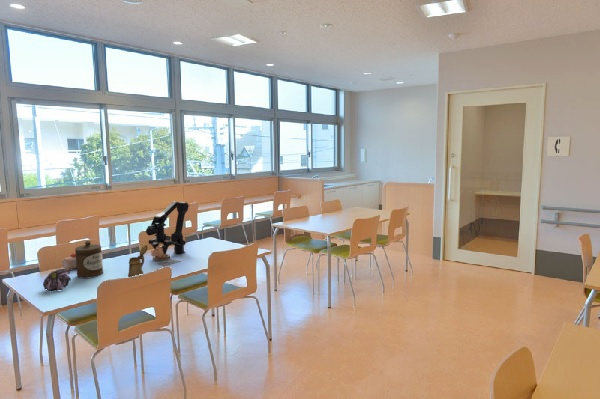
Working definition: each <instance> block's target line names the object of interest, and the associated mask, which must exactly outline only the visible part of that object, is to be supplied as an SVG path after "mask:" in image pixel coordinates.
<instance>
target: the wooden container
mask: <svg viewBox="0 0 600 399" xmlns="http://www.w3.org/2000/svg"><path fill="white" fill-rule="evenodd" d="M75 254H76V268H77V269H76V276H78V277H77V278H79V277H83V278H82V279H85V278H84V277H91V278H95V277H94V276H96V277H99V276H101V275H103V273H104V268H103V265H104V264H103V256H102V245H101V244H94V243H92V244H91V241H90V240H86V241H85V242H84V245H80V246H77V247H75ZM98 275H99V276H98Z"/></svg>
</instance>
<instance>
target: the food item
mask: <svg viewBox="0 0 600 399" xmlns="http://www.w3.org/2000/svg"><path fill="white" fill-rule="evenodd" d="M61 262H62V267H63V269H66V270H69V271H72V270H71V269H73V270H77V269H76V253H72V254H70V256H68V257H64V258H63V259H62V261H61Z"/></svg>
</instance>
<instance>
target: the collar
mask: <svg viewBox="0 0 600 399" xmlns="http://www.w3.org/2000/svg"><path fill="white" fill-rule="evenodd" d="M168 260H171V255H170V254H168V253H166V257H164V258H157V256H152V261H154V262H164V261H168Z"/></svg>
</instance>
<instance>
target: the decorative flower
mask: <svg viewBox="0 0 600 399" xmlns="http://www.w3.org/2000/svg"><path fill="white" fill-rule="evenodd" d="M69 274H71V272H70V270H69V271H68V270H66V269H64V268H59V269H56V270H53V271H51V272H50V273H48V275H47V276H46V277H44V280H43V282H42V285H43V288H44V290H45V289H47V290H48V291H51V292H52V291H53V292H55V291H56V292H57V290H62V291H63V288H67V286H68V285H69V282H70V281H72V278H71V277H70V276H69ZM47 290H46V291H47ZM48 291H47V292H48Z"/></svg>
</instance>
